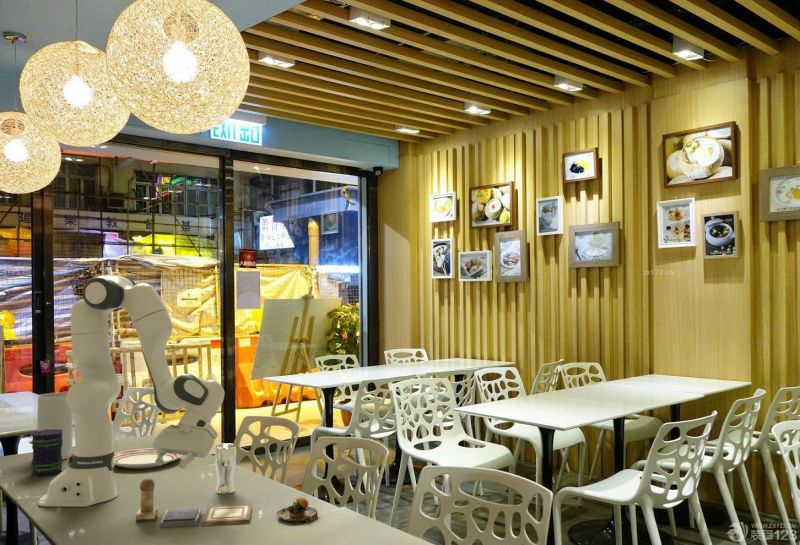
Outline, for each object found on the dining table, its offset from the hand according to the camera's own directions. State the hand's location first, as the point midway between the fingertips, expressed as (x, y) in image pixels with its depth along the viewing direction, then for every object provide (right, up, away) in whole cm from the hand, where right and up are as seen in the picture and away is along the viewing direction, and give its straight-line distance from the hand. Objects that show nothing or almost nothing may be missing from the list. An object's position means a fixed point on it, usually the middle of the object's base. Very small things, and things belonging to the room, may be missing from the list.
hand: (169, 465), depth 201 cm
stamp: (-4, -13, -8) cm, 16 cm away
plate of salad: (+40, -14, -7) cm, 43 cm away
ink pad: (+7, -13, -9) cm, 17 cm away
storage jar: (-59, -15, +41) cm, 73 cm away
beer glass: (+12, -14, +19) cm, 26 cm away
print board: (+19, -13, -6) cm, 24 cm away
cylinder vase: (-68, -16, +64) cm, 95 cm away
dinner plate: (-29, -16, +56) cm, 65 cm away
